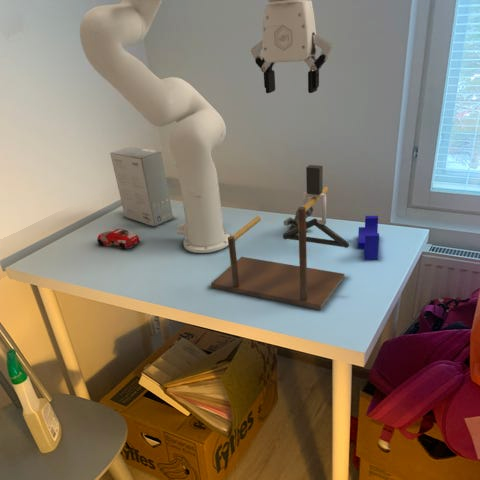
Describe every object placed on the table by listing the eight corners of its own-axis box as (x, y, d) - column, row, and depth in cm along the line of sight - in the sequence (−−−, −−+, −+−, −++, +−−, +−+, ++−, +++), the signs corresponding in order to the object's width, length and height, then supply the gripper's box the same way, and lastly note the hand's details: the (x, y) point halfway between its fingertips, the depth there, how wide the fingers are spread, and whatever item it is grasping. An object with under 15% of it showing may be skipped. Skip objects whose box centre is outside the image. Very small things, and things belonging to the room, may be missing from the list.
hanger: (281, 240, 101) (277, 165, 93) (284, 236, 103) (281, 162, 94) (347, 249, 95) (350, 170, 87) (350, 246, 96) (353, 167, 88)
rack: (211, 287, 110) (198, 199, 99) (242, 260, 120) (233, 177, 109) (320, 310, 98) (320, 212, 87) (344, 278, 108) (347, 186, 97)
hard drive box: (174, 218, 148) (162, 151, 137) (154, 227, 143) (140, 158, 132) (143, 209, 157) (130, 145, 146) (123, 217, 153) (108, 152, 142)
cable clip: (358, 238, 124) (359, 215, 121) (376, 238, 123) (378, 215, 120) (357, 259, 115) (358, 235, 111) (377, 259, 114) (379, 235, 110)
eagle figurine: (316, 233, 127) (319, 214, 133) (300, 213, 123) (304, 194, 130) (292, 246, 131) (297, 226, 137) (276, 227, 128) (281, 208, 134)
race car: (94, 245, 137) (90, 231, 135) (107, 237, 141) (104, 224, 138) (130, 251, 131) (126, 237, 128) (143, 243, 134) (140, 229, 132)
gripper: (239, -1, 94) (246, 95, 104) (323, -10, 86) (323, 95, 96) (257, -3, 100) (263, 89, 109) (338, -12, 92) (337, 88, 101)
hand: (291, 92), depth 102 cm, fingers open, 9 cm apart
